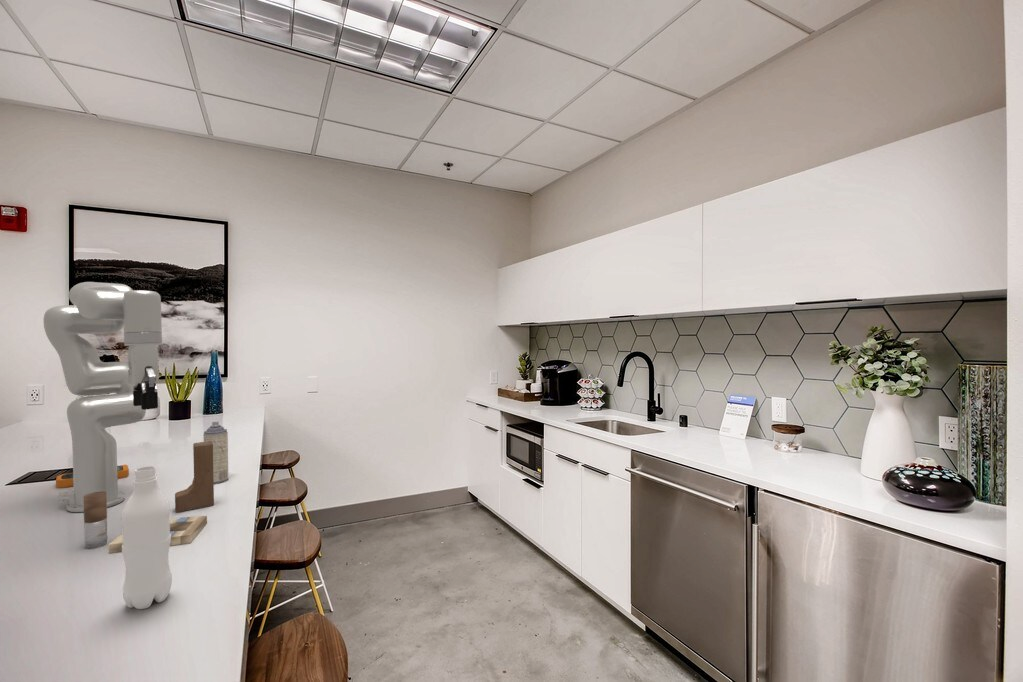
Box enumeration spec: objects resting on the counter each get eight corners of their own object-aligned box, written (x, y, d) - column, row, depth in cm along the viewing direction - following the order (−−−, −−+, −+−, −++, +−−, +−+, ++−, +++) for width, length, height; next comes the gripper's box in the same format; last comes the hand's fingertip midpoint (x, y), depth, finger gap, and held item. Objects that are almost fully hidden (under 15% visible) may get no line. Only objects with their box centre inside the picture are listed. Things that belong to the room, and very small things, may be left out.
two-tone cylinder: (80, 549, 107) (79, 498, 106) (90, 542, 110) (89, 492, 110) (102, 547, 108) (100, 496, 108) (111, 539, 112) (109, 490, 111)
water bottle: (141, 591, 89) (138, 463, 89) (180, 589, 90) (178, 462, 89) (112, 614, 82) (109, 475, 82) (155, 612, 83) (152, 474, 82)
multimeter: (57, 484, 153) (56, 473, 153) (127, 472, 166) (127, 463, 165) (55, 490, 147) (55, 480, 147) (129, 478, 159) (128, 468, 159)
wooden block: (175, 513, 128) (174, 448, 127) (175, 508, 131) (173, 445, 131) (214, 505, 133) (213, 443, 133) (212, 500, 137) (211, 440, 136)
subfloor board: (108, 553, 105) (108, 543, 105) (133, 531, 116) (133, 522, 116) (190, 543, 110) (190, 534, 110) (207, 523, 121) (206, 514, 121)
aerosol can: (232, 477, 159) (230, 419, 158) (222, 483, 152) (221, 423, 152) (210, 478, 158) (209, 420, 157) (200, 485, 151) (199, 424, 151)
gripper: (118, 340, 120) (120, 405, 120) (131, 339, 108) (133, 412, 109) (154, 339, 125) (156, 402, 126) (170, 339, 114) (172, 408, 114)
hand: (145, 407), depth 117 cm, fingers open, 9 cm apart
